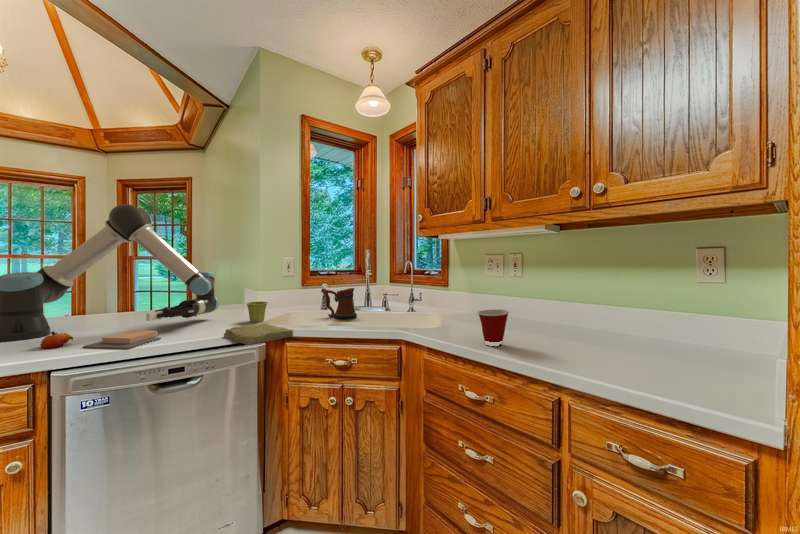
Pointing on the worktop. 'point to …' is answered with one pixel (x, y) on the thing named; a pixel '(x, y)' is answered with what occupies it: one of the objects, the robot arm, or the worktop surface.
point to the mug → (341, 303)
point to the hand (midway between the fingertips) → (148, 317)
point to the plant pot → (256, 311)
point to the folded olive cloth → (257, 333)
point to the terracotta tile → (129, 337)
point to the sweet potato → (55, 340)
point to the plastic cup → (493, 324)
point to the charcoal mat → (119, 346)
